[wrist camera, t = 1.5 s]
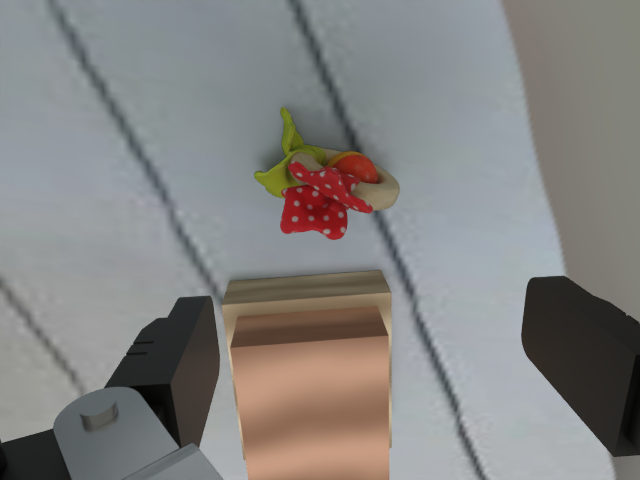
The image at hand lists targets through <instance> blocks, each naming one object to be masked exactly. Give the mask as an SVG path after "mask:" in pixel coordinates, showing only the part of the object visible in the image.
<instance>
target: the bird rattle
mask: <svg viewBox="0 0 640 480" xmlns="http://www.w3.org/2000/svg"><path fill="white" fill-rule="evenodd" d="M280 113H281V116H282V118H283V120H284V132H283V137H282V148H283V152H284V154H285V156H286V158H285V159H284V160H282V161H281V162H280V163H279V164H277V165H276V166H275V167H273V168H272V169H270V170H269V171H268V172H262V171H257V172H255V174H254V178H255V179H256V180H257V181H258V182H260V183H261V184H262V185H264V186H265V188H266V190H267V191H268V192H269V193H271V194H272V195H274V196H276V197H280V198H285V205H284V210H283V214H282V218H281V224H280V227H281V230H282V232H283V233H285V234H289V233H296V232H305V231H310V230H315V231H318V232H320V233H322V234H323V235H324V236H325V237H327V238H329V239H332V240H336V239H340V238H342V237H343V235H344V233H345V231H346V229H347V212H346V210H348V209H349V208H351V209H353V210H355V211H359V212H364V213H371V212H372V211H373V210H383V209H387V208H389V207H391V206H392V205H393V204H394V203H395V201H396V200H397V197H398V195H399V191H400V187H399V184H398V182H397V180H396V179H395V178H394V177H393V176H392V175H390V174H389V173H388V172H387V171H385V170H383V169H382V168H380V167H378V166H376V165H375V164H373V163H372V161H371V160H369V159H368V158H367V157H366V156H365V155H363V154H361V153H358V152H354V151H345V152H341V151H337V150H332V149H326V148H319V147H317V146H310V145H304V142H303V140H302V138H301V136H300V135H299V134H298V132H297V131H296V127H295V125H294V124H293V121H292V118H291V116H290V113H289V111H288V110H287V109H286V108H284V107H282V108H281V110H280Z"/></svg>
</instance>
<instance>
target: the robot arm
mask: <svg viewBox="0 0 640 480" xmlns="http://www.w3.org/2000/svg"><path fill="white" fill-rule="evenodd" d="M521 338H522V345H523V348H524V351H525V353H526V355H527V357H528V358H529V359H530V361H531V362H532V363H533V364H534V365H535V366H536V367H537V369H538V370H539V371H540V372H541V373H542V374H543V376H544V377H545V378H546V379H547V380H548V381H549V383H550V384H551V385H552V386H553V387H554V388H555V389H556V391H557V392H558V393H559V394H560V395H561V396H562V398H563V399H564V400H565V401H566V402H567V403H568V404H569V406H570V407H571V408H572V409H573V410H574V411H575V413H576V414H577V415H578V416H579V417H580V418H581V420H582V421H583V422H584V423H585V424H586V425H587V426H588V428H589V429H590V430H591V431H592V432H593V433H594V435H595V436H596V437H597V438H598V439H599V440H600V442H601V443H602V444H603V445H604V446H605V447H606V448H607V450H608V451H609V452H610V453H611V454H612V455H613V457H620V456H633V455H640V324H639V322H638V321H637V320H635V319H634V318H632V317H631V316H629V315H628V316H626V313H625V312H623V311H622V310H620V309H619V308H617V307H616V306H614V305H613V304H611V303H610V302H608V301H605V300H603V299H600V298H598V297H596V296H593V295H592V294H590V293H589V292H587V291H586V290H584V289H583V288H581V287H580V286H579V285H577V284H576V283H574V282H573V281H571V280H570V279H569V278H567V277H565V276H550V277H533V278H531V279H530V281H529V282H528V285H527V290H526V298H525V307H524V315H523V323H522V332H521ZM219 368H220V354H219V345H218V337H217V330H216V322H215V314H214V307H213V301H212V298H211V296H196V297H180V298H178V300H177V302H176V303H175V305H174V307H173V309H172V311H171V312H170V314H169V316H168V318H157V319H156V320H154V321H153V322H152V323H150V324H149V325H147V326H146V327H145V328H143V329H142V330H141V331H140V333H139V335H138V336H137V338H136V339H135V341H134V342H133V345H131V347H130V348H129V350H128V352H127V353H126V356H124V358H123V359H122V361H121V362H120V364H119V365H118V367H117V369H116V370H115V372H114V373H113V375H112V376H111V378H110V379H109V381H108V382H107V384H106V386H105V387H104V389H100V390H96V391H93V392H91V393H88V394H86V395H84V396H82V397H80V398H78V399H76V400H75V401H73V402H72V403H70V404H69V405H68V406H66V407H65V408H64V409H63V410H62V411H61V412H60V413H59V415H58V416H57V418H56V419H55V422H54V425H53V429H50V430H47V431H44V432H40V433H36V434H33V435H29V436H26V437H22V438H18V439H15V440H11V441H7V442H4V443H1V440H0V480H224V479H223V478H222V477H221V476H220V474H219V473H218V472H217V471H216V469H215V468H214V467H213V465H212V464H211V463H210V462H209V460H208V459H207V458H206V457H205V455H204V454H203V453H202V452H201V450H200V449H199V446H200V442H201V438H202V435H203V431H204V427H205V424H206V420H207V416H208V413H209V409H210V405H211V402H212V398H213V394H214V391H215V387H216V383H217V380H218V376H219Z"/></svg>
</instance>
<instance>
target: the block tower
mask: <svg viewBox="0 0 640 480" xmlns="http://www.w3.org/2000/svg"><path fill="white" fill-rule="evenodd" d="M222 310H223V317H224V324H225V331H226V338H227V345H228V352H229V359H230V366H231V374H232V381H233V388H234V395H235V402H236V409H237V416H238V423H239V430H240V437H241V444H242V451H243V458H244V460H246V465H247V472H248V479H249V480H389V448H392V432H391V291H390V289H389V286H388V284H387V282H386V280H385V278H384V276H383V274H382V272H381V270H378V271H365V272H351V273H337V274H323V275H309V276H296V277H282V278H268V279H254V280H240V281H229V284H228V287H227V290H226V293H225V297H224V300H223V303H222Z"/></svg>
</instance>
